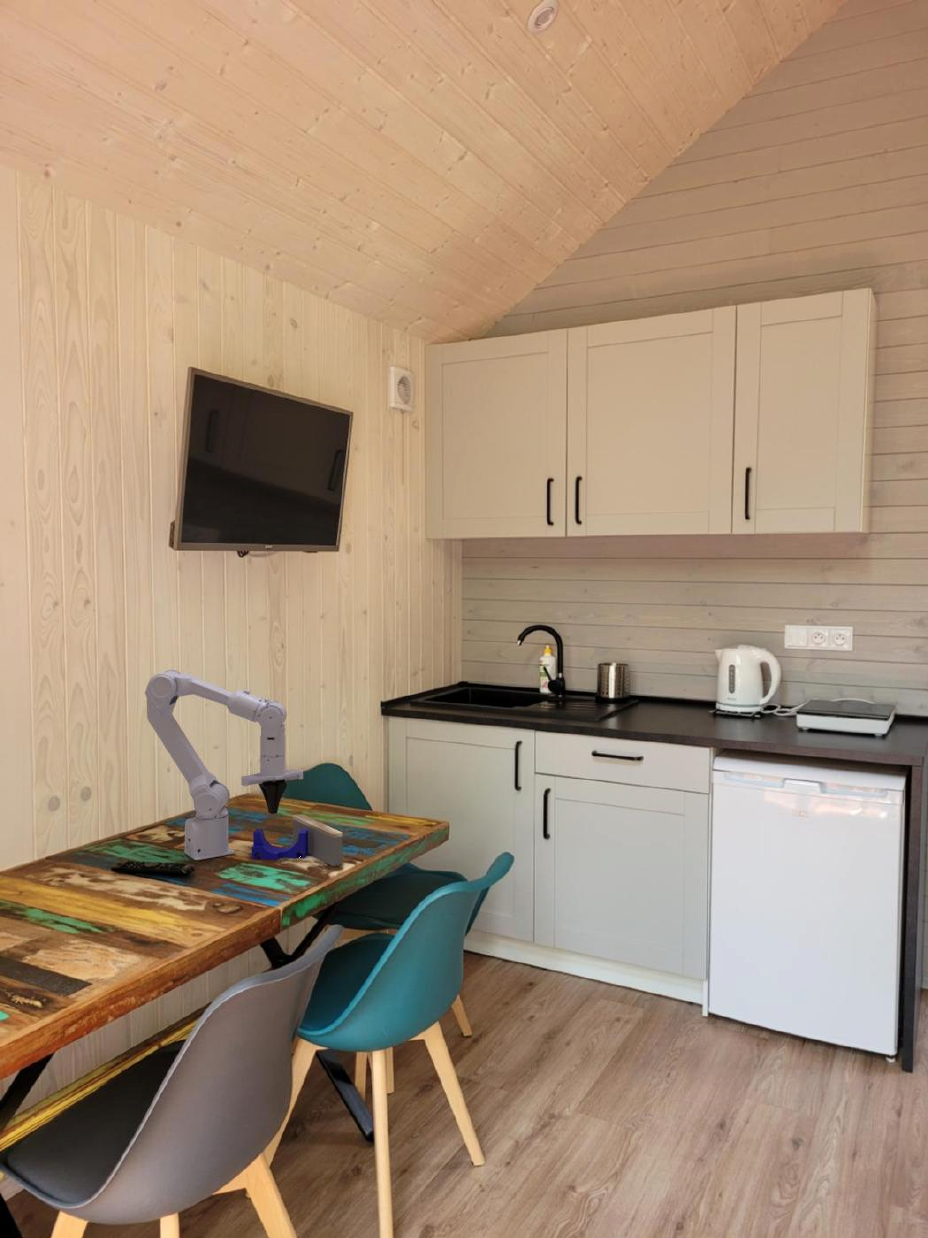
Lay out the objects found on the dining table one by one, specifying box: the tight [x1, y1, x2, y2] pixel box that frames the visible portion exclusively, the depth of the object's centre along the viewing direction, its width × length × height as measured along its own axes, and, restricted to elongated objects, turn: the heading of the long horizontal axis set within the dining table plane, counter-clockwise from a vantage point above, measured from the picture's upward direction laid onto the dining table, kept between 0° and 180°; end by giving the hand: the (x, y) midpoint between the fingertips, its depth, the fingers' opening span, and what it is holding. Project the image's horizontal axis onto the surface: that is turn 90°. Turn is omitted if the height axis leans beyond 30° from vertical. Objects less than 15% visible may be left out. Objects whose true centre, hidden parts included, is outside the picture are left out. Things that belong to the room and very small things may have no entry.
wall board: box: [292, 813, 344, 867], centre depth 217 cm, size 2×20×7 cm, turn 36°
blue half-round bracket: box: [251, 828, 309, 861], centre depth 215 cm, size 12×4×6 cm, turn 87°
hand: (272, 813), depth 218 cm, fingers closed
